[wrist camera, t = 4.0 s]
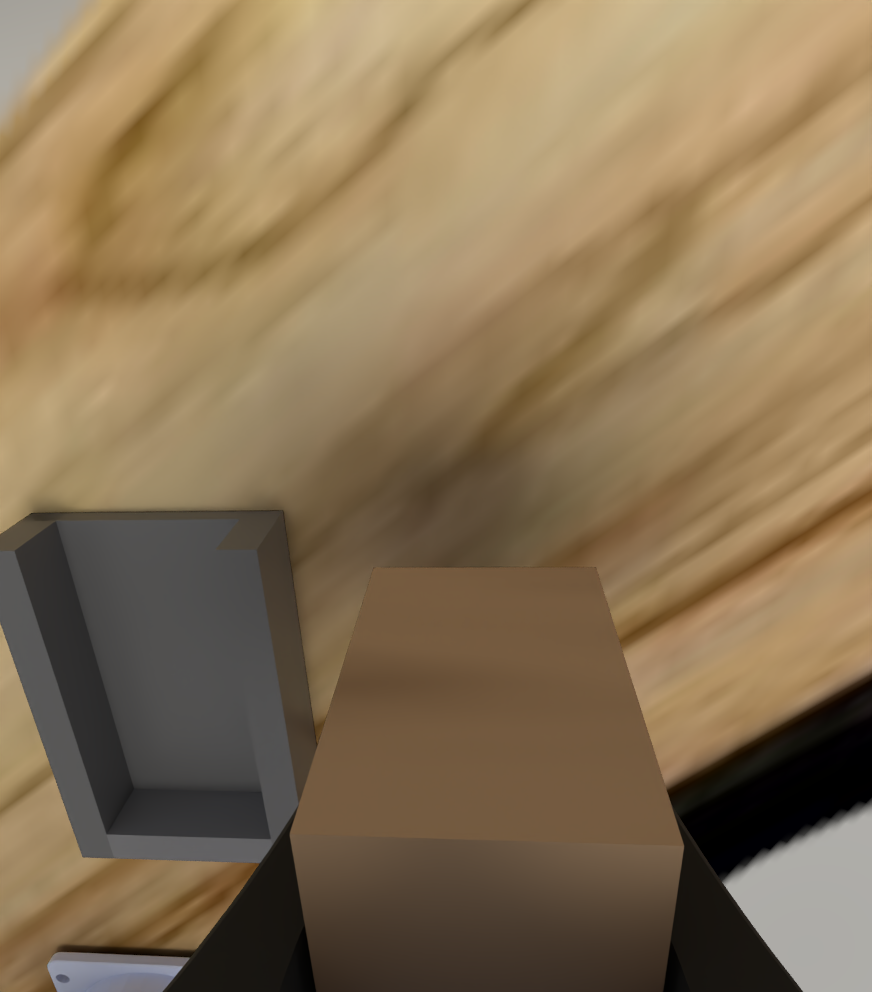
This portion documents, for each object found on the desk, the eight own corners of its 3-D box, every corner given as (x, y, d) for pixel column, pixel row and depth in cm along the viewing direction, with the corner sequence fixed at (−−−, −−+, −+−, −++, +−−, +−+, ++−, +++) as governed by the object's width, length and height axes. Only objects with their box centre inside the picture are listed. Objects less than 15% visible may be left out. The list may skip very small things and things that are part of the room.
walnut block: (578, 845, 13) (632, 1202, 8) (396, 839, 13) (348, 1182, 8) (595, 567, 10) (684, 846, 6) (373, 567, 11) (289, 833, 6)
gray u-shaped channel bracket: (325, 803, 22) (308, 864, 20) (119, 798, 22) (82, 857, 20) (282, 510, 18) (256, 549, 16) (31, 513, 18) (-26, 550, 16)
